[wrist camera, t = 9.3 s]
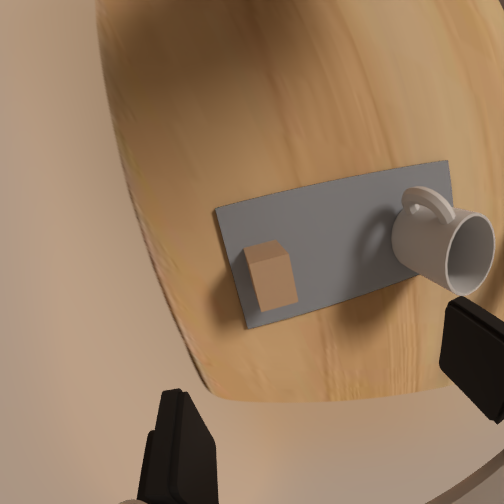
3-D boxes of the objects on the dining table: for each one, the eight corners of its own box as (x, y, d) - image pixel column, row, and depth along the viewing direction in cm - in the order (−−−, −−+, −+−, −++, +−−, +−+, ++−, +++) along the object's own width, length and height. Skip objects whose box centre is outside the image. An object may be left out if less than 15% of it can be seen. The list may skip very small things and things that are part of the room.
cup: (406, 279, 29) (457, 311, 21) (363, 206, 27) (420, 221, 18) (446, 238, 29) (501, 259, 20) (410, 165, 26) (471, 166, 18)
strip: (215, 208, 26) (214, 216, 20) (445, 160, 27) (478, 161, 22) (247, 327, 29) (254, 357, 24) (453, 258, 30) (482, 271, 25)
